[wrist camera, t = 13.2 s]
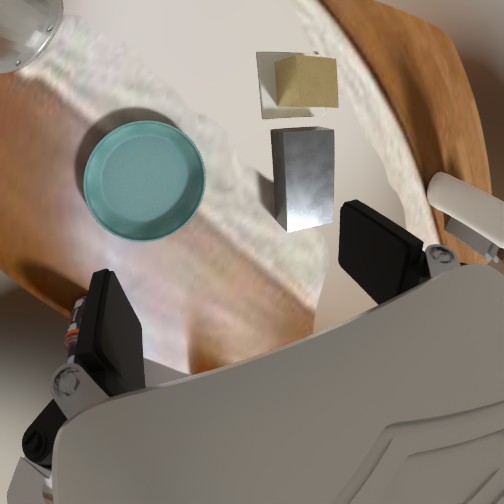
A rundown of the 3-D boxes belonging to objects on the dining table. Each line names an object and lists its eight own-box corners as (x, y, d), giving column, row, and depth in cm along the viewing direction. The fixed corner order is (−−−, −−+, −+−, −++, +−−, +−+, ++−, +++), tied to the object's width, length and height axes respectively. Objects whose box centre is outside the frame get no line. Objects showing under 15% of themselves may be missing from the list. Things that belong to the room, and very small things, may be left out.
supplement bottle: (70, 293, 34) (53, 348, 25) (105, 293, 36) (96, 349, 27) (79, 322, 37) (68, 377, 28) (112, 322, 39) (107, 378, 30)
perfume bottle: (463, 214, 55) (514, 246, 40) (453, 236, 57) (502, 271, 43) (455, 205, 52) (511, 239, 37) (444, 229, 54) (498, 266, 40)
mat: (256, 52, 27) (257, 51, 26) (319, 55, 29) (322, 54, 28) (262, 119, 31) (263, 119, 31) (323, 116, 33) (326, 116, 33)
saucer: (222, 196, 35) (227, 202, 33) (130, 252, 35) (128, 262, 33) (168, 97, 27) (168, 95, 25) (68, 165, 27) (61, 170, 24)
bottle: (421, 202, 47) (538, 280, 22) (432, 166, 44) (557, 234, 19) (439, 208, 50) (542, 277, 25) (449, 175, 47) (558, 238, 22)
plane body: (270, 129, 32) (283, 132, 29) (317, 126, 34) (334, 129, 31) (276, 220, 39) (287, 232, 36) (318, 211, 41) (332, 222, 37)
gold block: (274, 62, 27) (296, 54, 22) (310, 63, 28) (335, 58, 23) (277, 106, 30) (299, 107, 26) (312, 105, 32) (338, 107, 27)
